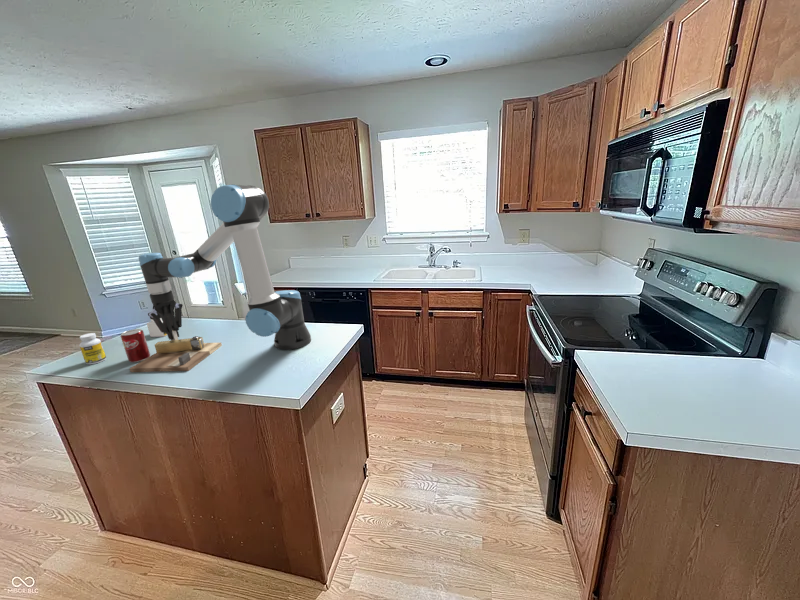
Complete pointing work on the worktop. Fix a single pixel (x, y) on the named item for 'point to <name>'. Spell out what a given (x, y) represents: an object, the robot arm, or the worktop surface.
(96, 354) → the pill bottle
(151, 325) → the medicine bottle
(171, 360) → the wooden cutting board
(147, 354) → the soda can
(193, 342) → the swing bar
